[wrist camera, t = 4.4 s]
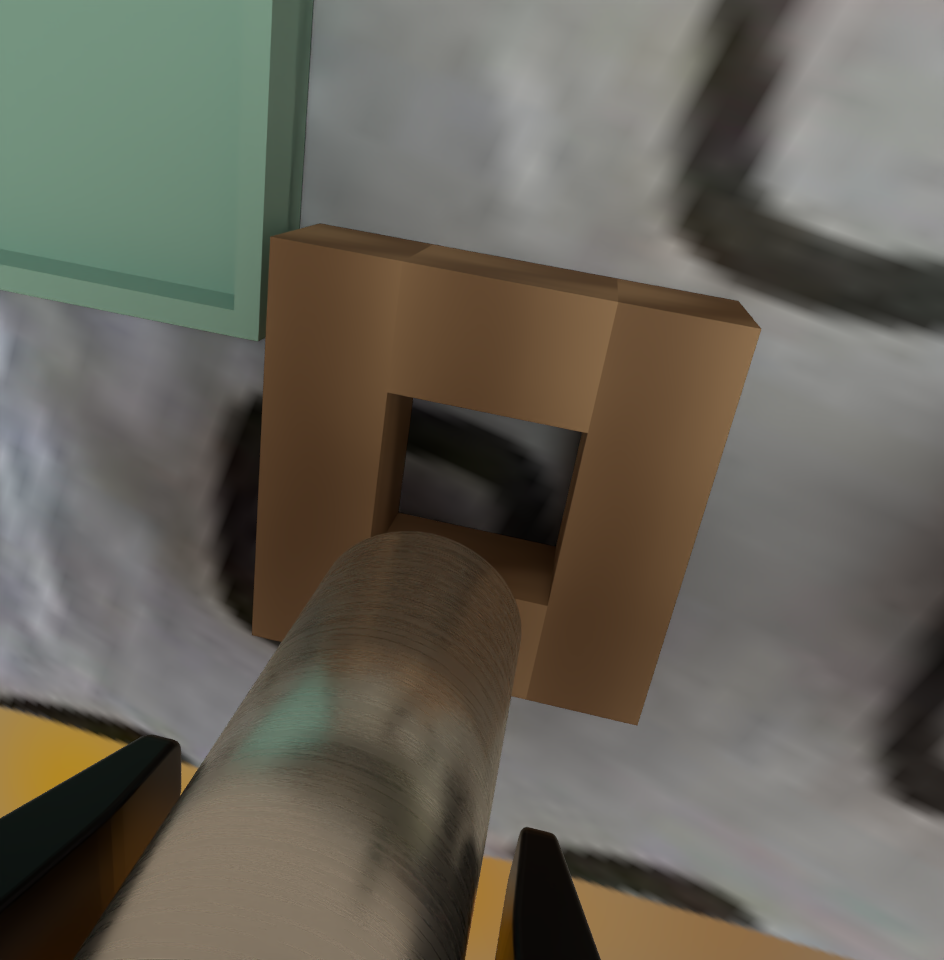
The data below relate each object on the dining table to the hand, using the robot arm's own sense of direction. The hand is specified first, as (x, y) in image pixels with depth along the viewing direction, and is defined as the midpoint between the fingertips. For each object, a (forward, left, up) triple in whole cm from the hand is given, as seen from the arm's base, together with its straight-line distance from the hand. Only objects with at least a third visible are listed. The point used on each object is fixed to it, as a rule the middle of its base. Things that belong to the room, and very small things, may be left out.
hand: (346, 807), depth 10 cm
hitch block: (0, 0, -12) cm, 12 cm away
